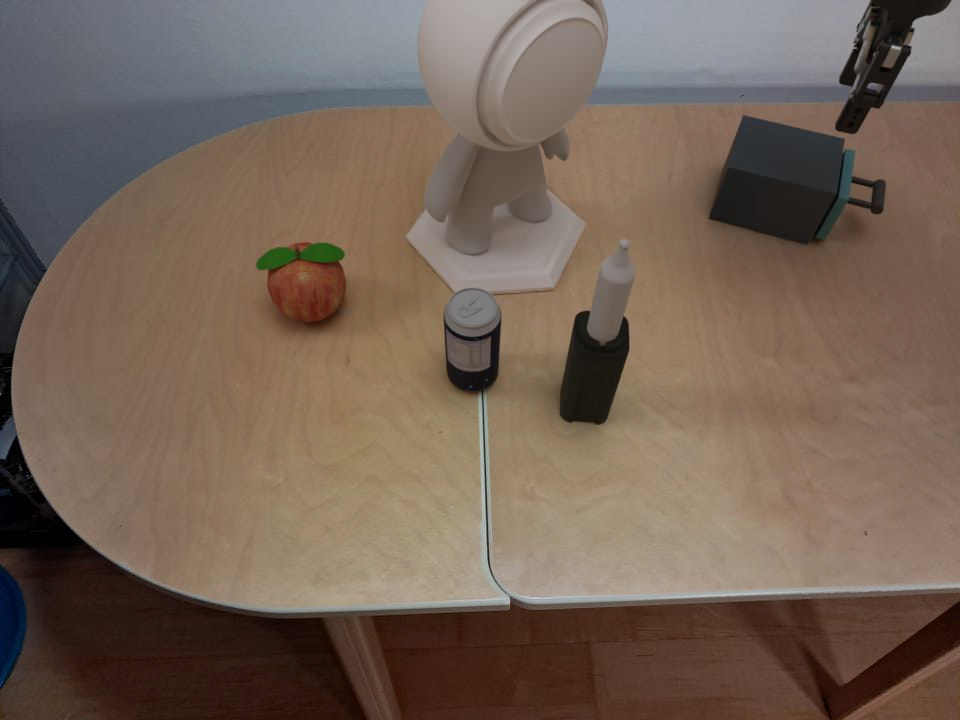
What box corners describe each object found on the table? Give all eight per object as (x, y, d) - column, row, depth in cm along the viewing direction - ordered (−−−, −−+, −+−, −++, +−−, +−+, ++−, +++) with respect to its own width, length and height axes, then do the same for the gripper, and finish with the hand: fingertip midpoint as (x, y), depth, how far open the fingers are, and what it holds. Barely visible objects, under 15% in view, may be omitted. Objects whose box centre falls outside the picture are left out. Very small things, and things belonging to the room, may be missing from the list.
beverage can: (508, 380, 77) (513, 312, 67) (465, 405, 75) (464, 339, 65) (479, 345, 80) (480, 275, 70) (437, 368, 78) (431, 300, 68)
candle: (607, 384, 77) (656, 219, 56) (607, 425, 74) (659, 267, 53) (560, 381, 77) (592, 214, 56) (559, 421, 74) (592, 262, 53)
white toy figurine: (486, 329, 81) (493, 47, 52) (382, 213, 91) (339, -76, 62) (615, 254, 87) (686, -33, 58) (505, 154, 98) (518, -132, 69)
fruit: (350, 335, 80) (336, 278, 72) (267, 336, 80) (243, 279, 72) (356, 278, 85) (344, 218, 77) (277, 278, 85) (256, 218, 77)
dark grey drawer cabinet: (816, 191, 94) (845, 138, 87) (807, 244, 89) (836, 193, 81) (723, 167, 97) (743, 114, 90) (708, 218, 91) (728, 166, 84)
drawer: (869, 201, 92) (895, 160, 86) (864, 250, 87) (891, 210, 81) (745, 170, 95) (762, 128, 89) (733, 216, 90) (750, 175, 84)
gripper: (984, -9, 55) (882, 156, 69) (973, -86, 63) (884, 76, 77) (885, -27, 57) (804, 139, 70) (887, -100, 64) (814, 62, 78)
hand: (846, 106), depth 73 cm, fingers open, 8 cm apart
